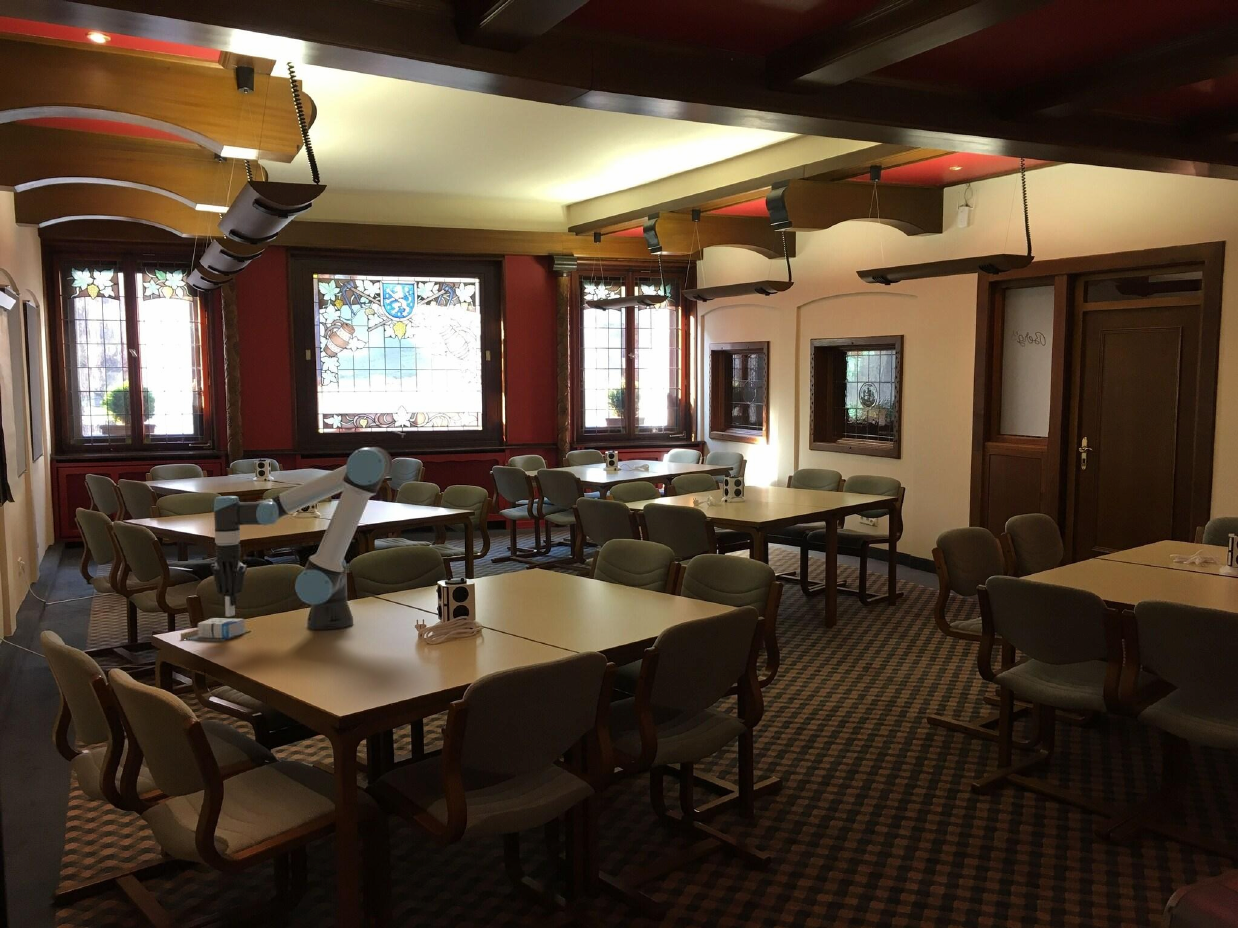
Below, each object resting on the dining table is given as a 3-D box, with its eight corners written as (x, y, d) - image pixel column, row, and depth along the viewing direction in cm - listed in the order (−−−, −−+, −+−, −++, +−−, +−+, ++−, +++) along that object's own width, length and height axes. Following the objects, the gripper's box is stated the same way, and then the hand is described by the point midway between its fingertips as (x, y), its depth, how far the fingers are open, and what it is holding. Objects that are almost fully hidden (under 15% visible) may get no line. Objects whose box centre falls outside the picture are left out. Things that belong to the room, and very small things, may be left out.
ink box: (228, 623, 305) (196, 622, 307) (229, 639, 305) (197, 637, 307) (244, 618, 313) (213, 616, 316) (245, 632, 313) (213, 631, 316)
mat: (250, 631, 317) (250, 625, 317) (219, 642, 302) (219, 635, 302) (213, 629, 321) (213, 623, 321) (180, 639, 307) (180, 633, 307)
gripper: (252, 542, 310) (254, 614, 311) (219, 541, 314) (221, 612, 315) (236, 545, 303) (239, 618, 304) (203, 544, 307) (205, 616, 308)
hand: (230, 615), depth 310 cm, fingers closed
